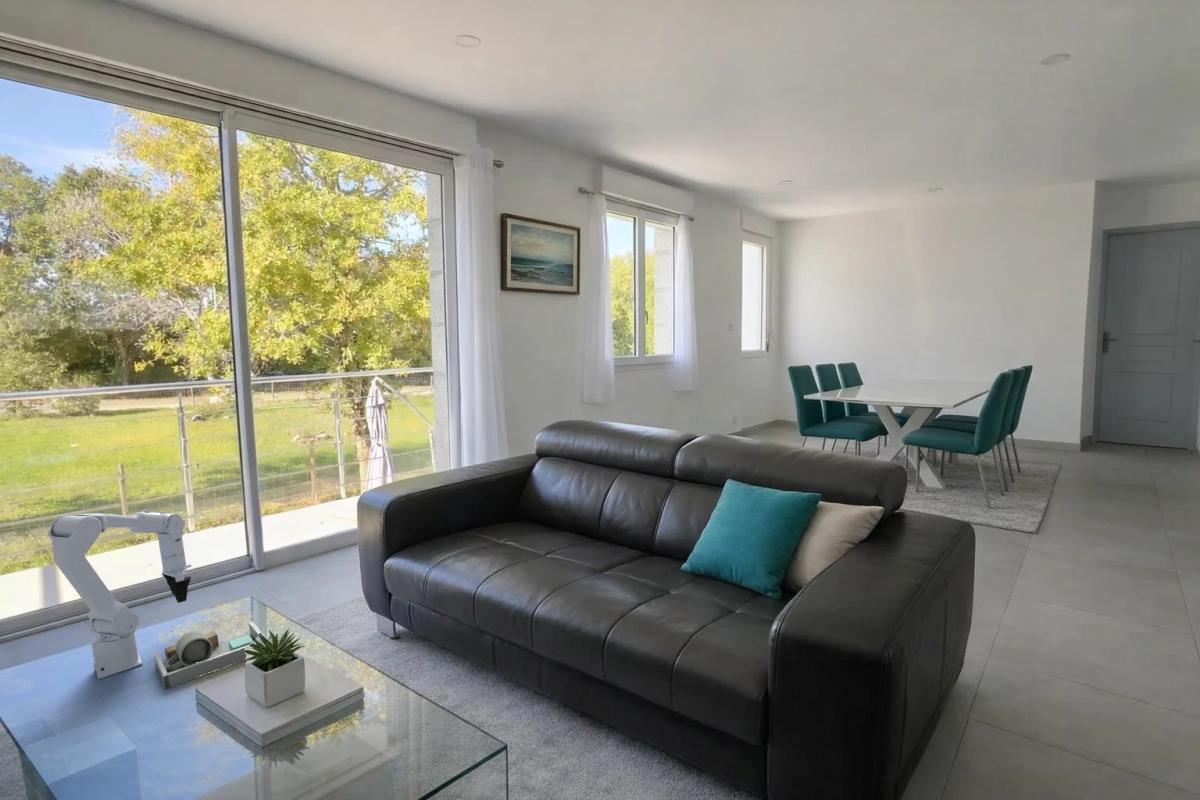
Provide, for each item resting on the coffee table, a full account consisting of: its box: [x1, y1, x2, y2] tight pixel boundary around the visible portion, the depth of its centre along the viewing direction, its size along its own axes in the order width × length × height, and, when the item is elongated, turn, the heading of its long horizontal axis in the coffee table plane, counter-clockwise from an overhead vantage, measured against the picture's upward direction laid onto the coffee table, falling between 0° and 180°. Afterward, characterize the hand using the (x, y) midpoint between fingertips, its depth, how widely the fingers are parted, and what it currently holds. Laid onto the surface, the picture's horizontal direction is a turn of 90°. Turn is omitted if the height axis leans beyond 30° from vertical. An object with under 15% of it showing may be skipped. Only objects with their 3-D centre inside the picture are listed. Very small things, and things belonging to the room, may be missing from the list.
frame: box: [153, 621, 263, 690], centre depth 174 cm, size 24×15×4 cm, turn 132°
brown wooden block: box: [164, 630, 220, 663], centre depth 178 cm, size 12×3×4 cm, turn 136°
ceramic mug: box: [164, 631, 214, 673], centre depth 172 cm, size 11×8×8 cm
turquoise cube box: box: [228, 634, 254, 652], centre depth 178 cm, size 5×5×3 cm
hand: (179, 597), depth 189 cm, fingers open, 7 cm apart
